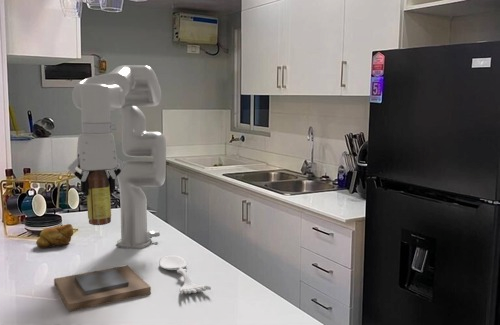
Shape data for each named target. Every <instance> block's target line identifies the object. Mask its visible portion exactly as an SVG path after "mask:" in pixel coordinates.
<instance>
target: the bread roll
mask: <svg viewBox="0 0 500 325" xmlns="http://www.w3.org/2000/svg"><path fill="white" fill-rule="evenodd" d="M73 236H74V228H73V225H72V224H71V223H67V224H63V225H57V226H54V227H45V228H43V229H42V230H41V232H40V234H39V237H38V238H37V239H36V242H35V245H36V246H37V247H38V248H42V249H43V248H44V249H45V248H52V247H62V246H65V245H68V244H70V242H71V240H72V237H73Z"/></svg>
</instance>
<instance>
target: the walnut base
mask: <svg viewBox="0 0 500 325" xmlns="http://www.w3.org/2000/svg"><path fill="white" fill-rule="evenodd" d="M53 284H54V287H55V289H56V291H57V292H58V294H59V297H60V298H61V300H62V303H64V305H65V306H66V309H67V311H68V312H69V313H70V312H74V311H78V310H83V309H88V308H93V307H96V306H101V305H105V304H109V303H115V302H119V301H124V300H128V299H129V300H130V299H132V298H137V297H138V298H139V297H141V296H145V295H150V294H151V293H152V292H151V291H152V290H151V288H152V287H151V286H150V285H149V284H148V283H147V282H146V281H145V280H144V279H143V278H142V277H141V276H140V275H139V274H138V273H137V272H136V271H135V270H134V269H132V268H131V267H130V266H129V264H127V265H121V266H116V267H111V268H110V267H109V268H106V269H100V270H95V271H94V270H93V271H90V272H89V271H88V272H84V273H78V274H72V275H67V276H62V277H58V278H57V277H55V278H54V279H53Z"/></svg>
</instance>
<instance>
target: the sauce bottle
mask: <svg viewBox="0 0 500 325" xmlns="http://www.w3.org/2000/svg"><path fill="white" fill-rule="evenodd" d="M106 172H107V171H106V170H97V171H89V173H88V176H87V178H86V179H87V181H88V196H86V203H87V204H86V206H87V217H88V218H87V219H88V224H89V225H93V226H105V225H107V224H110V223H111V221H112V205H111V193H110V185H109V180H108V178H109V176H108V175H107V173H106Z"/></svg>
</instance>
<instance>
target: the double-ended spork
mask: <svg viewBox="0 0 500 325" xmlns="http://www.w3.org/2000/svg"><path fill="white" fill-rule="evenodd" d="M158 264H159V267H161V268H163V269H165V270H168V271H176V273H178V274H181V275H182V276H183V284H182V286H180V287H179V292H180V294H181V295H183V294H185V295H186V294H196V293H201V292H205V291H207V290H210V291H211V289H212V287H211V285H203V284H197V283H194V282H192V281H191V279H190V278H189V275H188V274H187V272H188V270H187V269H186V267H188V261H187V260H186V259H185V258H183V257H182V256H179V255H173V254H172V255H171V254H170V255H166V256H162V257H160V259H159V260H158Z"/></svg>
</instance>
